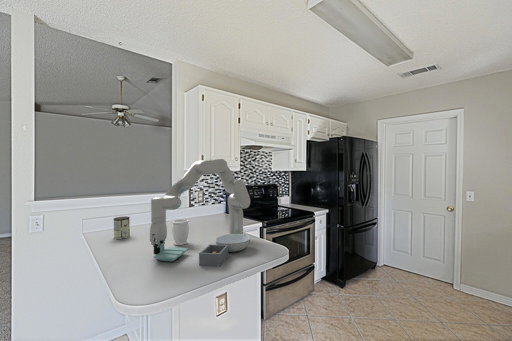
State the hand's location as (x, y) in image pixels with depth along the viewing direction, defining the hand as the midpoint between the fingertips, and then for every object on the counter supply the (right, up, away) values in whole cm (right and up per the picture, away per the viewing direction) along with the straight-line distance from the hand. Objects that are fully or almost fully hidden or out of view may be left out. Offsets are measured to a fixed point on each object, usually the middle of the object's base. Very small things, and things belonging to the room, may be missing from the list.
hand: (159, 252), depth 135 cm
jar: (+4, -3, +26) cm, 26 cm away
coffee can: (-45, -3, +44) cm, 63 cm away
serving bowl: (+39, -2, +13) cm, 41 cm away
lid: (+5, -2, -1) cm, 6 cm away
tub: (+31, -2, -5) cm, 32 cm away
